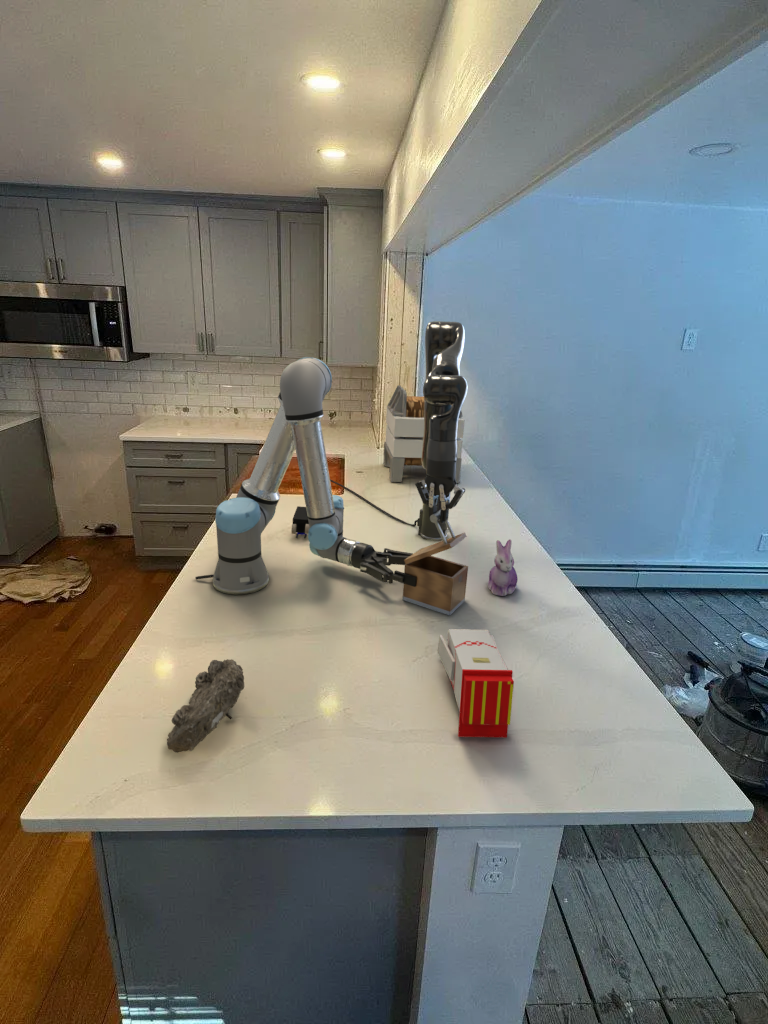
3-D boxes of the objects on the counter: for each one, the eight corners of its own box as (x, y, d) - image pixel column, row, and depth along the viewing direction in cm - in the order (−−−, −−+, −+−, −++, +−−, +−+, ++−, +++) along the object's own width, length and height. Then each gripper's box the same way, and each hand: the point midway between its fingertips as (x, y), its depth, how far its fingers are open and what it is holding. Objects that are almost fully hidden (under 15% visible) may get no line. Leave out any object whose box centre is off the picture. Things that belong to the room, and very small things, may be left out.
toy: (488, 613, 130) (523, 677, 101) (484, 667, 133) (517, 744, 104) (435, 612, 130) (455, 676, 101) (432, 666, 133) (451, 743, 103)
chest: (464, 601, 156) (468, 566, 152) (449, 615, 148) (453, 579, 144) (419, 586, 162) (421, 552, 159) (402, 599, 155) (404, 564, 151)
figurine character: (310, 544, 191) (314, 524, 204) (310, 524, 187) (314, 505, 201) (290, 544, 190) (296, 523, 204) (290, 524, 187) (295, 504, 200)
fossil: (192, 660, 117) (244, 628, 112) (224, 691, 120) (276, 661, 115) (142, 746, 98) (202, 712, 93) (182, 779, 101) (242, 748, 96)
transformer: (382, 463, 289) (386, 382, 275) (445, 464, 293) (451, 384, 279) (390, 482, 257) (394, 392, 243) (460, 483, 261) (468, 394, 247)
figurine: (500, 600, 157) (506, 550, 151) (478, 584, 165) (483, 536, 160) (526, 593, 161) (533, 545, 156) (503, 578, 169) (509, 532, 164)
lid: (466, 536, 150) (452, 504, 150) (451, 548, 142) (435, 513, 142) (422, 552, 159) (408, 522, 158) (405, 564, 151) (390, 532, 151)
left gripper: (376, 553, 175) (441, 573, 165) (334, 580, 157) (404, 603, 147) (377, 531, 173) (443, 549, 162) (334, 555, 155) (405, 577, 144)
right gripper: (410, 455, 142) (408, 520, 148) (460, 463, 136) (456, 531, 141) (424, 450, 148) (421, 512, 154) (473, 457, 142) (468, 522, 147)
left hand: (424, 574), depth 154 cm, fingers closed on chest, 9 cm apart
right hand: (438, 521), depth 148 cm, fingers closed on lid, 2 cm apart
